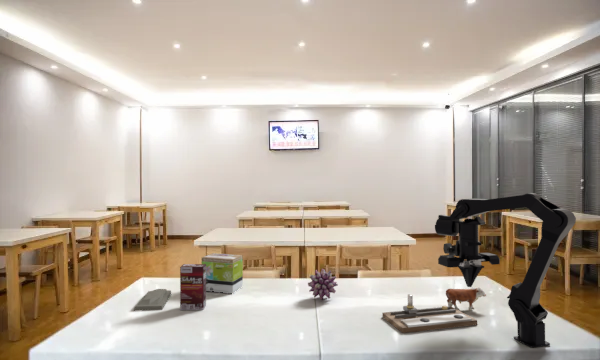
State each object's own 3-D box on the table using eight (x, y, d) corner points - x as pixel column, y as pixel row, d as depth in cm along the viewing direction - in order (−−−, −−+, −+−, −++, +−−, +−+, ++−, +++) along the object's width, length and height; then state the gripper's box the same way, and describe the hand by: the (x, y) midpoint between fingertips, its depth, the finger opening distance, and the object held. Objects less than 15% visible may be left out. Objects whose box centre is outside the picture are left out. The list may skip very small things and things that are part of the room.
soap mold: (133, 312, 138) (133, 303, 138) (147, 296, 158) (147, 287, 158) (162, 311, 140) (162, 301, 140) (172, 295, 160) (172, 286, 160)
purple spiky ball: (343, 301, 146) (343, 270, 147) (314, 305, 142) (314, 273, 142) (330, 293, 157) (329, 264, 157) (303, 297, 153) (302, 267, 153)
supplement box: (179, 310, 138) (179, 266, 138) (183, 306, 143) (183, 263, 143) (203, 310, 138) (203, 266, 138) (206, 305, 143) (206, 263, 143)
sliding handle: (417, 312, 126) (417, 296, 126) (409, 313, 125) (408, 297, 125) (411, 308, 130) (411, 292, 130) (403, 309, 129) (403, 293, 129)
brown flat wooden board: (477, 324, 122) (477, 315, 122) (402, 333, 116) (402, 323, 116) (450, 310, 135) (450, 302, 135) (382, 317, 129) (382, 308, 129)
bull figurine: (487, 312, 133) (487, 288, 133) (446, 310, 136) (446, 287, 136) (484, 308, 137) (483, 285, 137) (444, 306, 140) (444, 283, 140)
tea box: (200, 291, 162) (200, 256, 162) (212, 285, 172) (212, 252, 172) (232, 294, 158) (232, 258, 158) (243, 287, 167) (243, 254, 167)
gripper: (477, 233, 132) (477, 278, 132) (428, 235, 128) (429, 282, 128) (500, 238, 121) (501, 287, 121) (448, 240, 117) (449, 291, 117)
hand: (469, 286), depth 122 cm, fingers closed
